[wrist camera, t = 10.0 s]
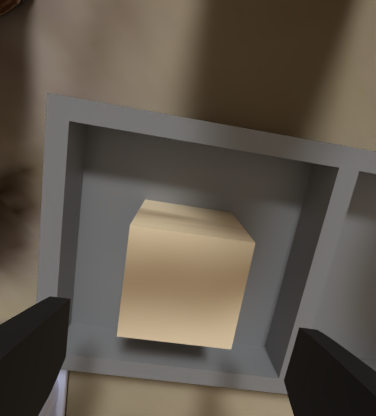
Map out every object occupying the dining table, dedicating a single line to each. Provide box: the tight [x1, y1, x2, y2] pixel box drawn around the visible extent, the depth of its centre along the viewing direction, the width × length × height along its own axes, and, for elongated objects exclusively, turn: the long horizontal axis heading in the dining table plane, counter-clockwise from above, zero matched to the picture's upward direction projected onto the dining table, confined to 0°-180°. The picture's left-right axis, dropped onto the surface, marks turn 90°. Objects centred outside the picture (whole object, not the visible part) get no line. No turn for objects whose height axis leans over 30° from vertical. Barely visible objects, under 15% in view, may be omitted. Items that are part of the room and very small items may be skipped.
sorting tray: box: [36, 93, 376, 394], centre depth 16 cm, size 14×28×3 cm, turn 81°
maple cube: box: [117, 200, 255, 349], centre depth 14 cm, size 5×5×5 cm
